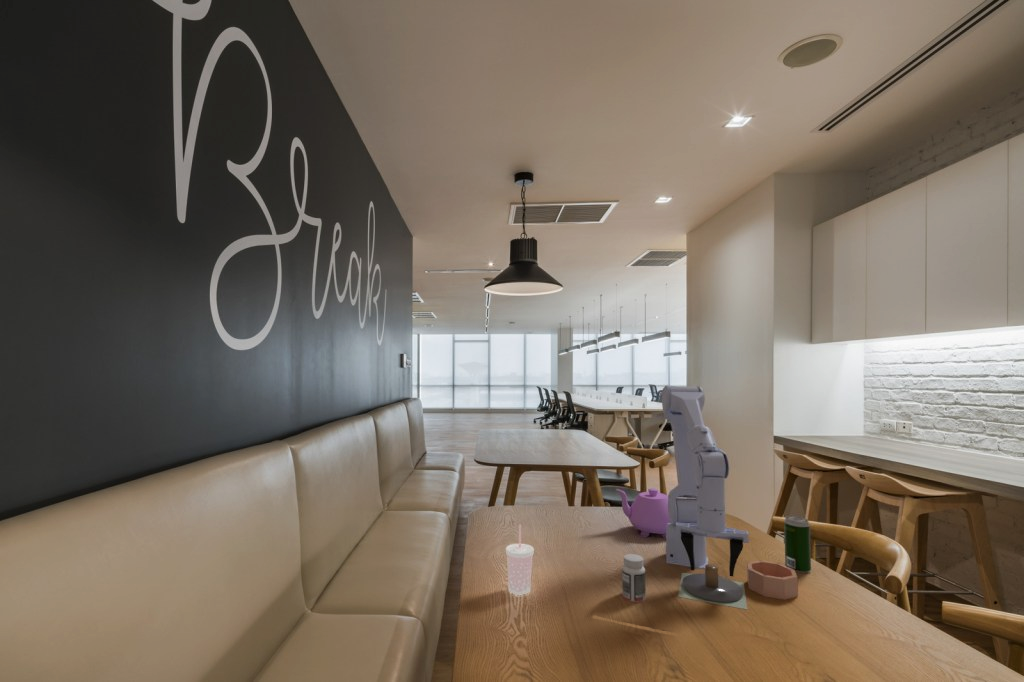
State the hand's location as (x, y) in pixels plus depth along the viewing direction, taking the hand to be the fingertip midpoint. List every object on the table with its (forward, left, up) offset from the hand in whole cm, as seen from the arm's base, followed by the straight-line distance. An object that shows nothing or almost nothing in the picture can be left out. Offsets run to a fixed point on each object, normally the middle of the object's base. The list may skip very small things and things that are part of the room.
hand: (711, 571), depth 103 cm
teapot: (-17, +34, -5) cm, 38 cm away
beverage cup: (-38, -17, -5) cm, 42 cm away
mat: (0, 0, -4) cm, 4 cm away
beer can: (+19, +21, -5) cm, 29 cm away
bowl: (+12, +6, -4) cm, 14 cm away
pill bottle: (-15, -10, -5) cm, 19 cm away
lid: (0, 0, -4) cm, 4 cm away
